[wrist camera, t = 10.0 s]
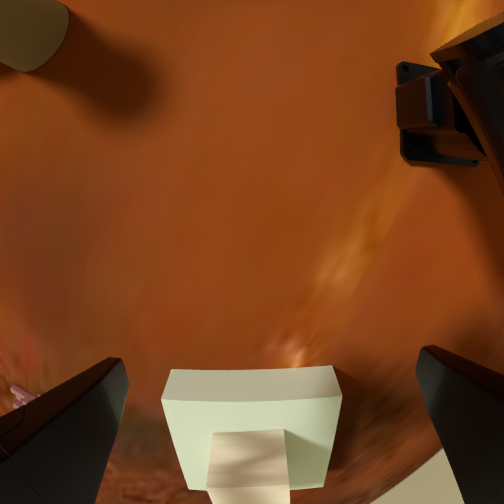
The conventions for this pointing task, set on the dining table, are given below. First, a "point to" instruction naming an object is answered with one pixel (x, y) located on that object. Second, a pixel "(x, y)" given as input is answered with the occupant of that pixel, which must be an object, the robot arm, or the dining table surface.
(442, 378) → the robot arm
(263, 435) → the birch cube
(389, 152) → the dining table surface
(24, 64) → the cork
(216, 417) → the sage block
